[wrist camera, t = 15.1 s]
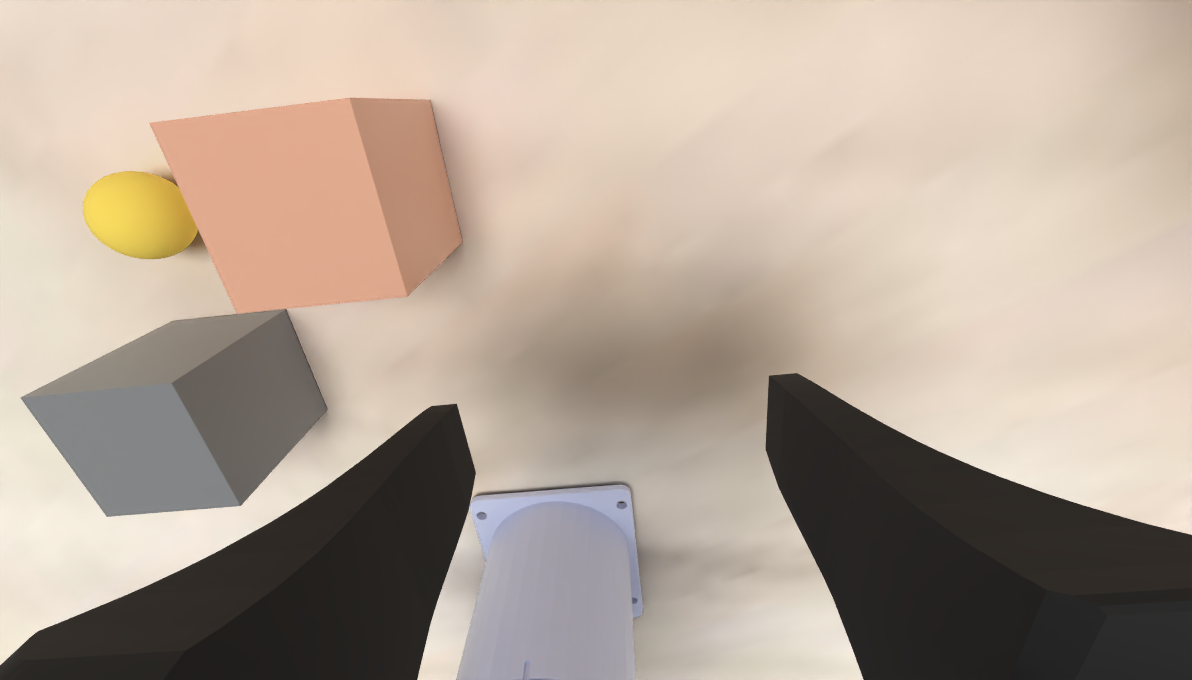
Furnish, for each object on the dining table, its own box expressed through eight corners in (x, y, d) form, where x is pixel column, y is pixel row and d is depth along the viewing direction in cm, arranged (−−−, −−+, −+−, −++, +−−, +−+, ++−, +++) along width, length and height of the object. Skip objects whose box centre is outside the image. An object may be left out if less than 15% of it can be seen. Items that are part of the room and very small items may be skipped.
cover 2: (327, 409, 23) (240, 505, 17) (224, 419, 23) (107, 516, 17) (285, 309, 20) (171, 382, 15) (172, 321, 21) (20, 397, 15)
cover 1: (462, 242, 19) (407, 296, 14) (338, 255, 19) (236, 313, 14) (430, 99, 17) (349, 98, 12) (291, 117, 17) (149, 123, 12)
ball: (231, 242, 19) (171, 265, 17) (159, 250, 19) (88, 274, 17) (196, 161, 18) (124, 172, 15) (119, 171, 18) (35, 182, 15)
